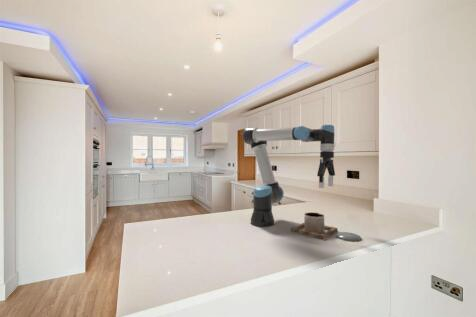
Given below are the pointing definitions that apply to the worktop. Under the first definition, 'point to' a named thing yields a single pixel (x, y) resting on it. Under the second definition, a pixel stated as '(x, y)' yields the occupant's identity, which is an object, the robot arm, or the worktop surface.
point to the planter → (314, 222)
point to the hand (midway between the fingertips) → (326, 187)
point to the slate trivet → (348, 236)
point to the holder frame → (321, 236)
